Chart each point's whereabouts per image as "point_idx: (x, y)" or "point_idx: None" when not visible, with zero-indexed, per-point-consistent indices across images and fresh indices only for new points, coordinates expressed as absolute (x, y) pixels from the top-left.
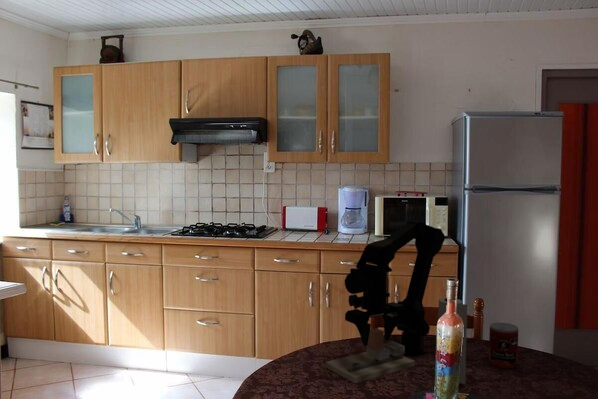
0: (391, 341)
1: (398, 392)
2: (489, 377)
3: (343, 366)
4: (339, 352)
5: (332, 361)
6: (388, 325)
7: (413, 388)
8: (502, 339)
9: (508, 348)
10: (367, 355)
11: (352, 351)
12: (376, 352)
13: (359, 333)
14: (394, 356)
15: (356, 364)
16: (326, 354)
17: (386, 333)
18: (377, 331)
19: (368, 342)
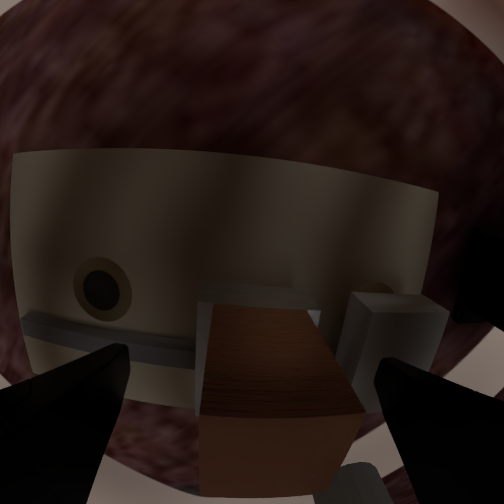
0: (442, 313)
1: (137, 468)
2: (405, 486)
3: (39, 257)
4: (231, 27)
5: (36, 165)
6: (445, 469)
7: (197, 480)
8: None
9: None
10: (270, 218)
11: (306, 59)
12: (195, 393)
13: (28, 380)
14: None
15: (100, 288)
16: (153, 16)
17: (404, 407)
18: (252, 488)
19: (211, 322)
